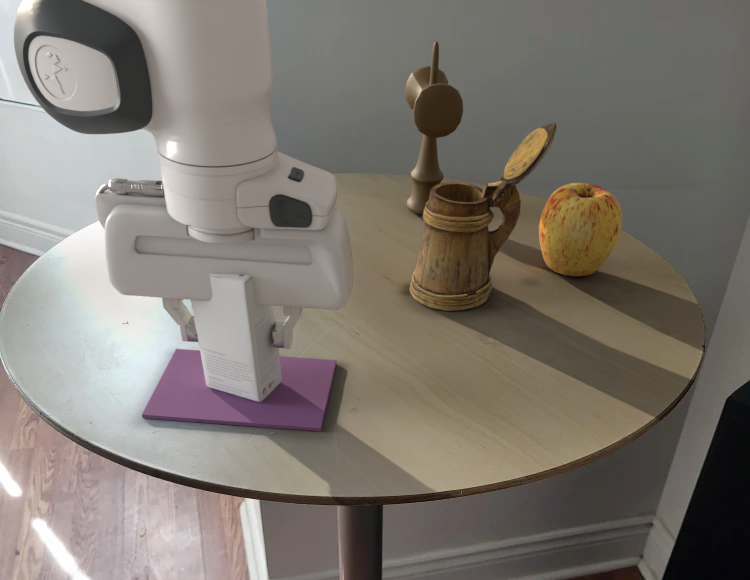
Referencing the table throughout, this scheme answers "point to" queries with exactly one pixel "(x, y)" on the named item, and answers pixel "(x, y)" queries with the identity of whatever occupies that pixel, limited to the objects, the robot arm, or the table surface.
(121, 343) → the table surface
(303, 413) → the purple rectangular board
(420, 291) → the wooden mug
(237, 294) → the cosmetic box
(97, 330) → the table surface
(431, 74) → the kendama
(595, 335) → the table surface
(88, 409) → the table surface
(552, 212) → the apple
